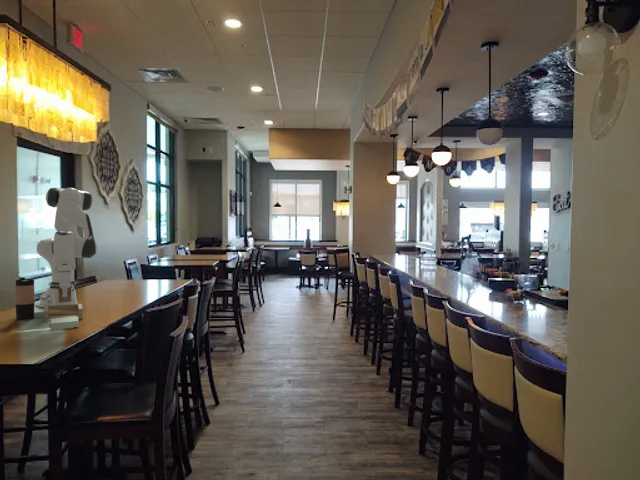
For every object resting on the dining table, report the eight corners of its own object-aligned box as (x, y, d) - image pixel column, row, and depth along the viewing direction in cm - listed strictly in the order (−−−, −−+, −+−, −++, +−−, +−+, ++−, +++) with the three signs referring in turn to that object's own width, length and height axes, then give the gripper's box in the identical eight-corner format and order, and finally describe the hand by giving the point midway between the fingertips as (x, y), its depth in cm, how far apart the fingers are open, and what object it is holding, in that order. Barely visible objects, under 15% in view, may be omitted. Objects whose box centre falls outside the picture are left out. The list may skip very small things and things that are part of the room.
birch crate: (45, 317, 221) (45, 305, 221) (81, 314, 229) (81, 303, 229) (43, 324, 207) (43, 311, 207) (82, 320, 215) (82, 308, 215)
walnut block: (58, 300, 204) (58, 285, 204) (71, 300, 206) (70, 285, 206) (58, 302, 200) (58, 287, 199) (71, 301, 202) (71, 286, 202)
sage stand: (51, 325, 205) (51, 318, 205) (78, 322, 211) (78, 316, 211) (50, 330, 196) (50, 323, 196) (78, 327, 202) (78, 320, 201)
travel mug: (12, 321, 211) (11, 280, 211) (27, 318, 219) (27, 278, 218) (22, 323, 209) (22, 281, 208) (38, 319, 216) (38, 279, 215)
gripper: (56, 264, 210) (57, 293, 210) (56, 268, 192) (56, 299, 193) (71, 263, 213) (72, 292, 214) (72, 267, 195) (73, 298, 196)
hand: (64, 295), depth 203 cm, fingers closed on walnut block, 5 cm apart
